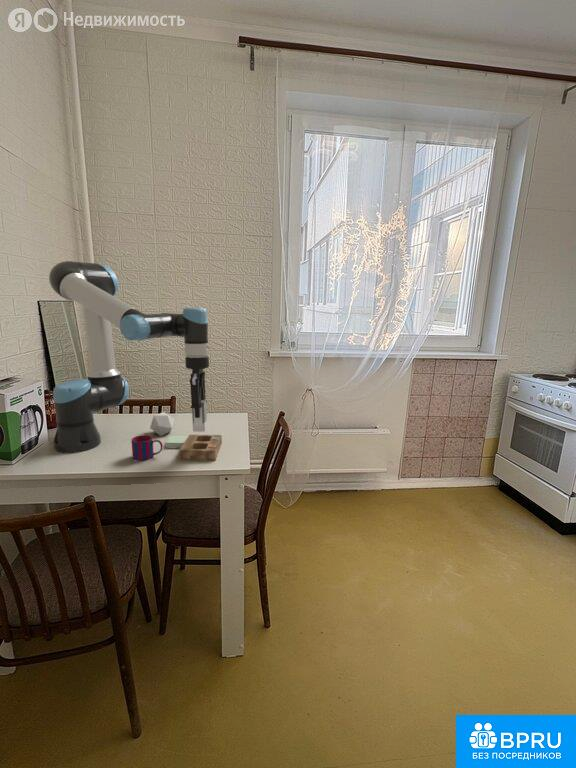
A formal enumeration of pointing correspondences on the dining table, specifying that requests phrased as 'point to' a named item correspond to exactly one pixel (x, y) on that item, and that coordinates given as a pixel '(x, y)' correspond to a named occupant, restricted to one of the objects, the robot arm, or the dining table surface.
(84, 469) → the dining table surface
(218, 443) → the socket block
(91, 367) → the robot arm
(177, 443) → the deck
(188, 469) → the dining table surface
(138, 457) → the mug
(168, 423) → the die
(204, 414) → the plug
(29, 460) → the dining table surface
